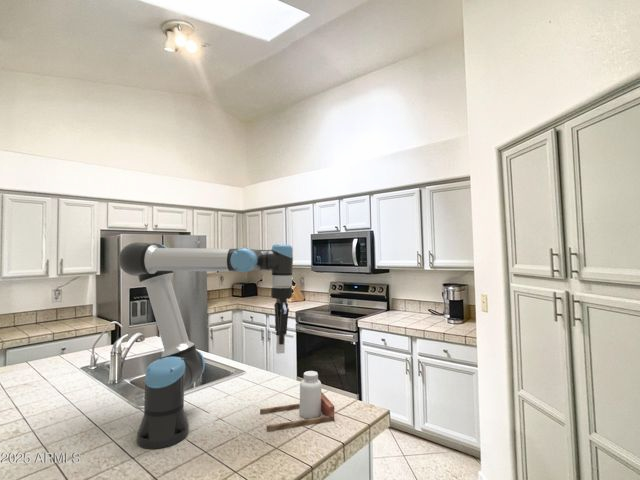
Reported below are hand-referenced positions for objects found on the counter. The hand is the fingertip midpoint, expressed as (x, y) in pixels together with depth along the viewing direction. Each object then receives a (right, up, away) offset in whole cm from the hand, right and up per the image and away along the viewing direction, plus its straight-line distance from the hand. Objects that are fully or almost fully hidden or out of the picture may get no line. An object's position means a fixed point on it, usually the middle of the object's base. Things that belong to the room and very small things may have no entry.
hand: (280, 352), depth 122 cm
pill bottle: (+11, -24, +3) cm, 26 cm away
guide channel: (+6, -24, +1) cm, 24 cm away
